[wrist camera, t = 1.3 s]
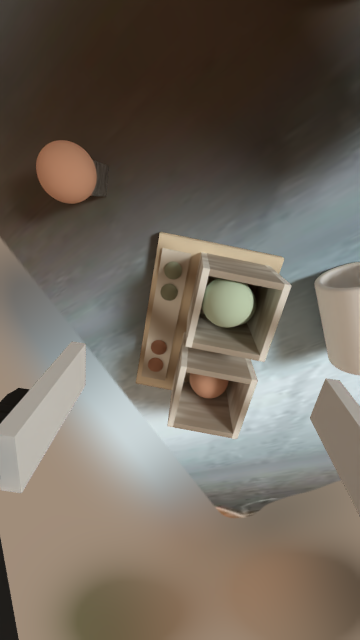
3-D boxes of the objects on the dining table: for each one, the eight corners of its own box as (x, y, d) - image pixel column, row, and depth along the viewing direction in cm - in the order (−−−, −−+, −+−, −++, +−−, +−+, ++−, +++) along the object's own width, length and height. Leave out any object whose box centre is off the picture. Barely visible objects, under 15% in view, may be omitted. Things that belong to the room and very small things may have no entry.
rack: (160, 231, 33) (148, 243, 24) (281, 256, 33) (310, 276, 25) (137, 378, 41) (122, 425, 32) (235, 396, 41) (245, 448, 32)
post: (80, 159, 30) (61, 153, 26) (108, 165, 31) (94, 160, 26) (78, 190, 32) (60, 189, 27) (106, 196, 32) (92, 195, 27)
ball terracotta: (52, 140, 26) (23, 128, 22) (105, 151, 26) (87, 141, 22) (51, 197, 28) (24, 197, 23) (101, 207, 28) (83, 209, 24)
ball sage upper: (214, 276, 30) (202, 267, 26) (261, 285, 29) (256, 277, 24) (204, 321, 31) (189, 320, 26) (249, 332, 29) (242, 333, 24)
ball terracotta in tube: (194, 348, 37) (193, 368, 33) (230, 355, 37) (235, 376, 33) (186, 379, 39) (185, 402, 34) (221, 386, 39) (224, 410, 35)
